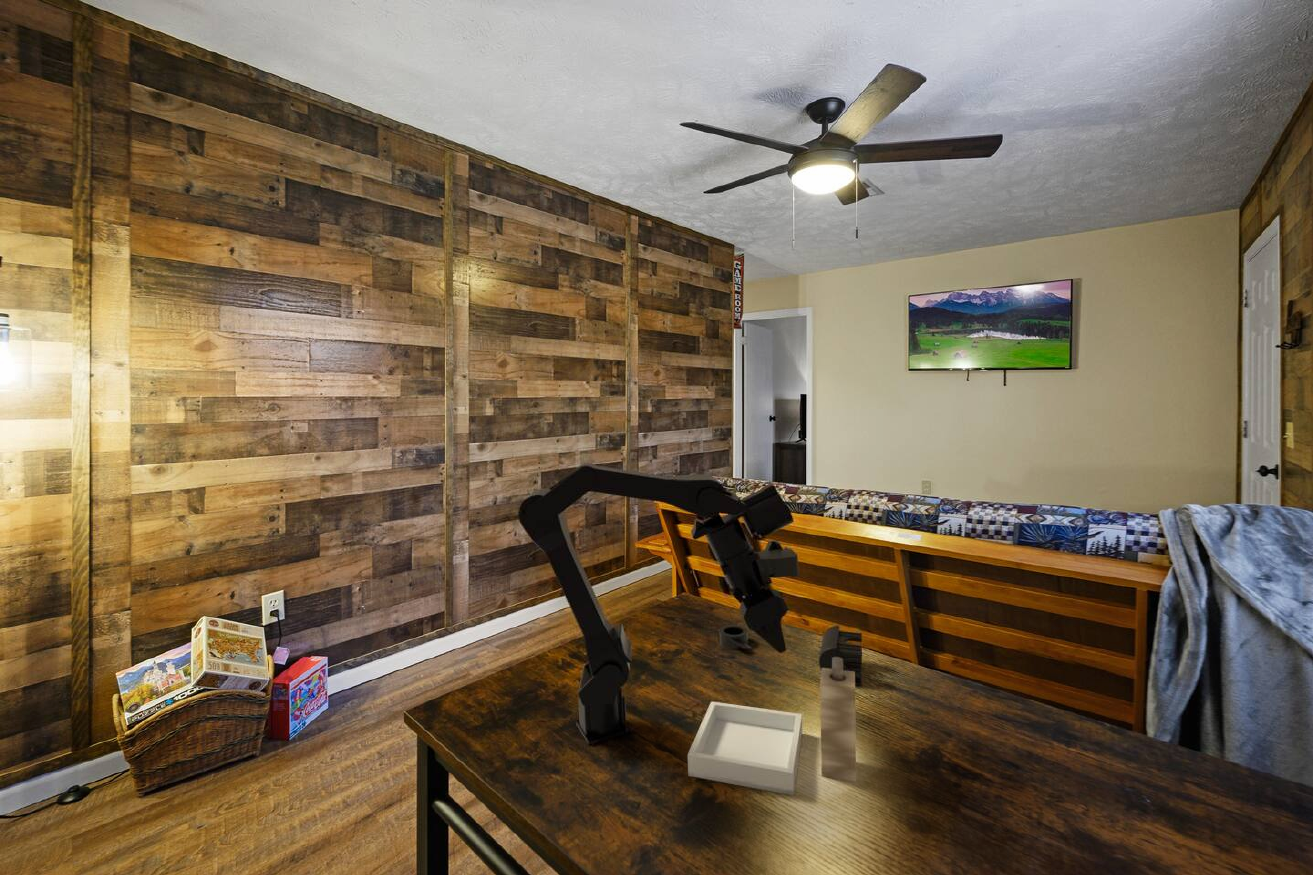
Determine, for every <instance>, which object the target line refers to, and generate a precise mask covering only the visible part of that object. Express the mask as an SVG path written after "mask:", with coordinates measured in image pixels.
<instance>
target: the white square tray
mask: <svg viewBox="0 0 1313 875" xmlns="http://www.w3.org/2000/svg"><path fill="white" fill-rule="evenodd" d="M802 738H803V714H802V713H797V712H789V711H781V710H775V709H767V708H760V707H753V706H745V705H739V704H731V703H725V702H718V701H711V702H710V704H709V706H708V708H707V710H706V712H705V715H704V716H703V719H702V721H701V723H700V726H699V729H698V731H697V732H696V735H695V737H694V740H693V742H692V744H691V746H690V749H689V751H688V753H687V774H688V777H692V778H693V777H694V778H697V779H698V778H699V779H703V780H709V781H714V782H720V783H725V784H730V785H735V786H741V787H746V788H752V789H757V790H761V791H767V792H773V793H779V794H783V795H787V796H788V795H789V796H795V795H794V793H795V787H796V779H797V773H798V766H799V760H800V753H801V752H800V751H801V743H802Z"/></svg>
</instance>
